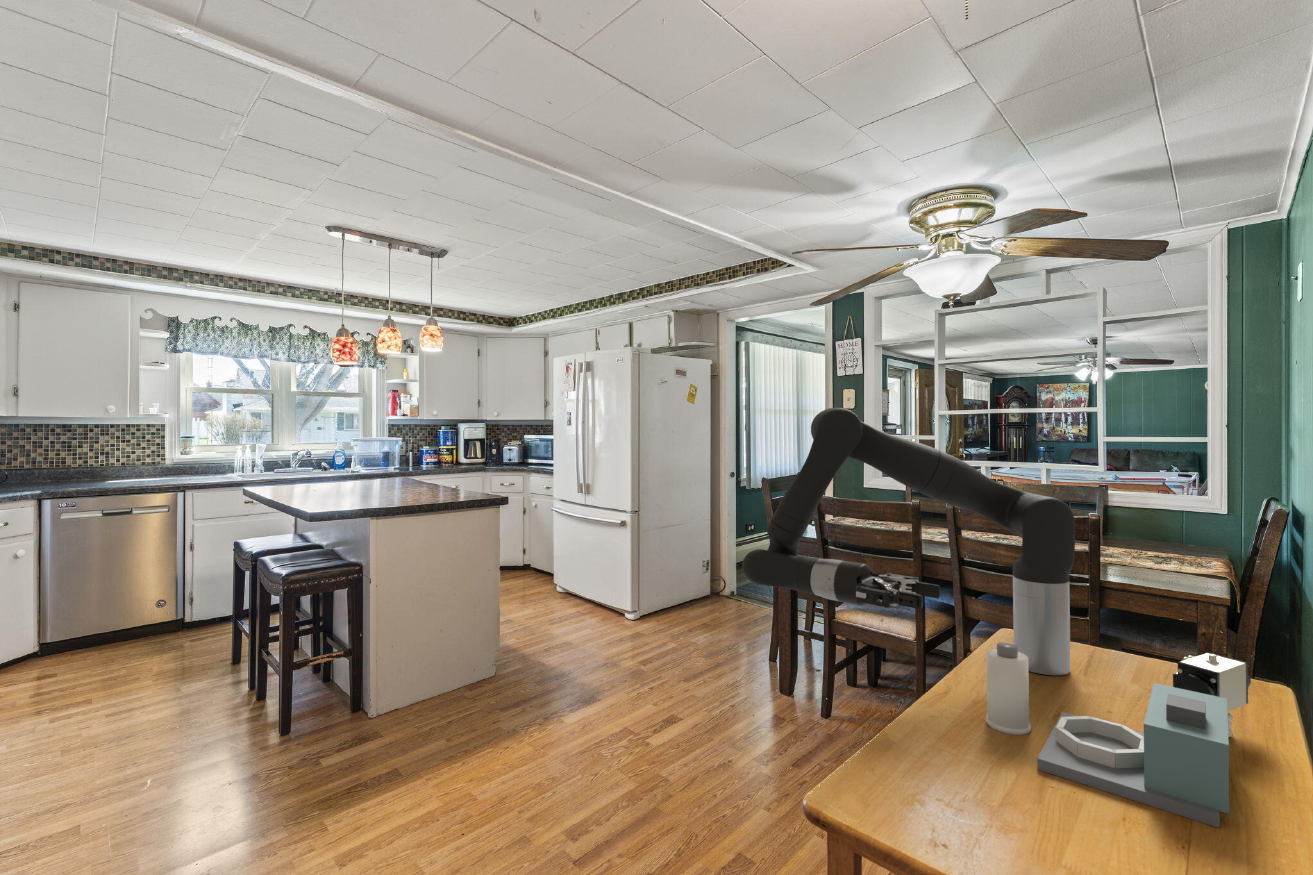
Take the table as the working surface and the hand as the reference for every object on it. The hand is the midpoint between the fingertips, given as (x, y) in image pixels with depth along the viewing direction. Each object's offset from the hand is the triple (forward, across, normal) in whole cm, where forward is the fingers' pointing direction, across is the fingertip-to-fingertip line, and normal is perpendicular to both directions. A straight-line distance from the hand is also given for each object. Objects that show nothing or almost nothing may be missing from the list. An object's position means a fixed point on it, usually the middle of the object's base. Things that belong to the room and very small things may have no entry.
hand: (931, 596), depth 100 cm
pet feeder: (+27, -1, +18) cm, 32 cm away
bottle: (+11, 0, +18) cm, 21 cm away
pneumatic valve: (+34, +17, +18) cm, 42 cm away
